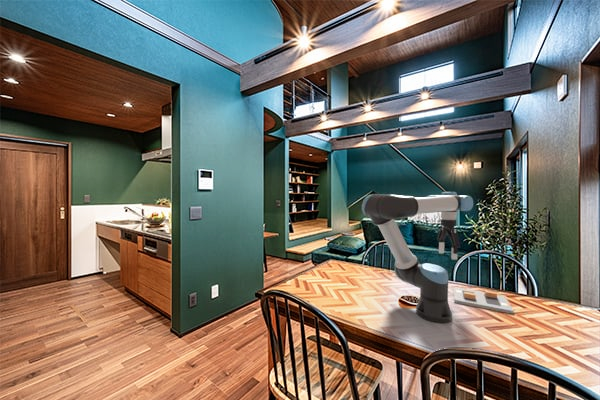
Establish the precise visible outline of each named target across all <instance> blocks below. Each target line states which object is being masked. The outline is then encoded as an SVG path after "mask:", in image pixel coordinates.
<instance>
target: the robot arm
mask: <svg viewBox="0 0 600 400" xmlns="http://www.w3.org/2000/svg"><path fill="white" fill-rule="evenodd" d="M473 207H474V199H473V197H472V196H471V195H458V193H457V192H456V191H443V192H441V194H431V195H427V196H426V197H425V196H424V197H415V196H412V195H398V194H386V193H385V194H384V193H383V194H379V193H374V194H369V195H366V196H365V198H364V199H363V201H362V204H361V211H362V213H363V214H364V216H366V217H367V218H370V220H371V222H372V224H373V225H374V226H377V227H378V228H379V231H380V232H381V234H382V236H383V238H384V240H385V242H386V244H387V246H388V248H389V250H390V252H391V254H392V256H393V258H394V259H395V262H394V269H393V270H394V275H395V276H396V277H397V278H398V279H399V280H401V281H402V282H404V283H407V284H410V285H412V286H414V287H416V288H417V289H418V288H419V289H420V291H419V292H420V293H419V294H420V295H419V299H418V301H417V304H416V306H415V311H416V312H415V313H416V314H417V315H418V316H419V317H421V318H422V319H424V320H427V321H429V322H432V323H437V324H446V323H450V322H451V321H452V319H453V313H452V310H451V307H450V303H449V301H448V300H449V299H448V298H449V280H450V279H449V275H448V274H449V273H448V270H446V269H445V268H444V267H442V266H441V265H438V264H433V263H426V262H425V263H420V261H419V259H418V257H417V256H416V255H415V254H412V251H410V248H409V245H408V244H407V242H406V240H405V238H404V236H403V234H402V232H401V230H400V227H399V226H398V224H397V221H396V220H397V219H398V220H399V219H404V218H405V219H406V218H412V217H416V215H421V214H433V213H440V218H441V219H440V226H439V231H438V235H437V237H436V241H438V254H445V243H446V242H445V240H446V238H447V237H448V239H449V241H450V243H451V245H452V246H451V253H450V254H451V256H450V257H451V260H458V253H459V252H458V251H459V248H461V242H460V237H459V233H458V229H457V228H455V227H456V226H457V220H456V219H457V216H458V214H457V213H458V212H457V211H462V212H469V211H471V210H472V209H473Z"/></svg>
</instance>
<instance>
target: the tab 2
mask: <svg viewBox="0 0 600 400" xmlns="http://www.w3.org/2000/svg"><path fill="white" fill-rule="evenodd" d="M484 292H485V296H486V297H492V298H497V294H498V293H497V291H491V290H486V289H485V290H484Z"/></svg>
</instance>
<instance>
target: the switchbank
mask: <svg viewBox="0 0 600 400" xmlns="http://www.w3.org/2000/svg"><path fill="white" fill-rule="evenodd" d="M464 292H470V293H475V295H476V300H473V299H468V298H464ZM453 297H454V299H453V301H454V302H453V303H456V304H460V305H465V306H471V307H475V308H481V309H485V310H490V309H491V311H495V310H496V312H500V313H501V312H502V313H505V312H506V314H510V313H511V314H512V315H514V313H515V312H514V309H513V307H512V306H511V305H512V304H510V302H509V300H508V298H507V296H506V295H502V294H498V293H497V298H492V297H486V296H485V291H481V290H474V289H467V288H462V287H454V286H453Z"/></svg>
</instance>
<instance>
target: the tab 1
mask: <svg viewBox="0 0 600 400" xmlns="http://www.w3.org/2000/svg"><path fill="white" fill-rule="evenodd" d="M464 298H468V299H473V300H476V295H475V293H470V292H464Z"/></svg>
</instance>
